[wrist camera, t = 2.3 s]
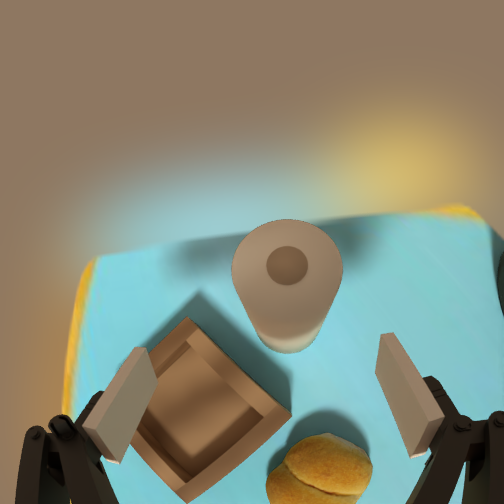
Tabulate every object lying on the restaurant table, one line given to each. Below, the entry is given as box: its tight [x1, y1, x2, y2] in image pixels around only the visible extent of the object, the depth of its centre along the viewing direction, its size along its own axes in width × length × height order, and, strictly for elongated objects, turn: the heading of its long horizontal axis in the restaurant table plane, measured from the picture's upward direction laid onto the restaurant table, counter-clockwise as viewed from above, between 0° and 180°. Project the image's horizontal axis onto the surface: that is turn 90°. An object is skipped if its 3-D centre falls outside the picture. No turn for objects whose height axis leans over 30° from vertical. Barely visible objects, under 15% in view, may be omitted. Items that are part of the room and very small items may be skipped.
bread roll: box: [266, 432, 373, 504], centre depth 17 cm, size 8×9×4 cm
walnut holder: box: [130, 317, 292, 504], centre depth 21 cm, size 12×12×3 cm
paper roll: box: [232, 219, 343, 354], centre depth 21 cm, size 6×6×12 cm
